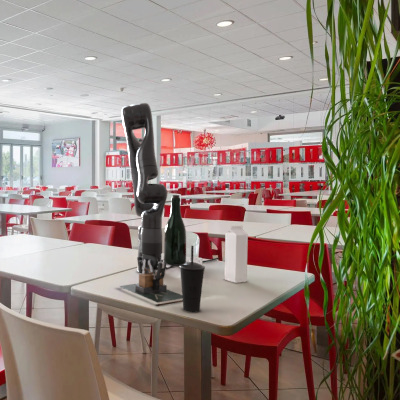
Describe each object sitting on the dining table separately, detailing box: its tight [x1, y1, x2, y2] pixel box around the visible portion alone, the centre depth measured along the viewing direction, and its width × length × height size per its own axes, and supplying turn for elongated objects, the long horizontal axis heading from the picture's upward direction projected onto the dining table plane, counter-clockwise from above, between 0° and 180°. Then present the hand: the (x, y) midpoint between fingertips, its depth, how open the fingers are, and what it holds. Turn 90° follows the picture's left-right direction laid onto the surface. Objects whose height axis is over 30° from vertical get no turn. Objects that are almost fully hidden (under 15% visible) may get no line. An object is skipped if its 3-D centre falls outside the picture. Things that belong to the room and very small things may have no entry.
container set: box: [188, 256, 203, 266], centre depth 179 cm, size 20×5×6 cm, turn 155°
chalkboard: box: [118, 282, 183, 307], centre depth 148 cm, size 14×24×1 cm, turn 27°
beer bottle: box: [163, 194, 187, 266], centre depth 201 cm, size 10×10×33 cm
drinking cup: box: [178, 245, 206, 313], centre depth 129 cm, size 8×8×20 cm
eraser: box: [135, 273, 168, 294], centre depth 148 cm, size 10×5×6 cm, turn 118°
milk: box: [224, 225, 249, 284], centre depth 167 cm, size 6×6×22 cm
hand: (150, 288), depth 148 cm, fingers closed on eraser, 5 cm apart
